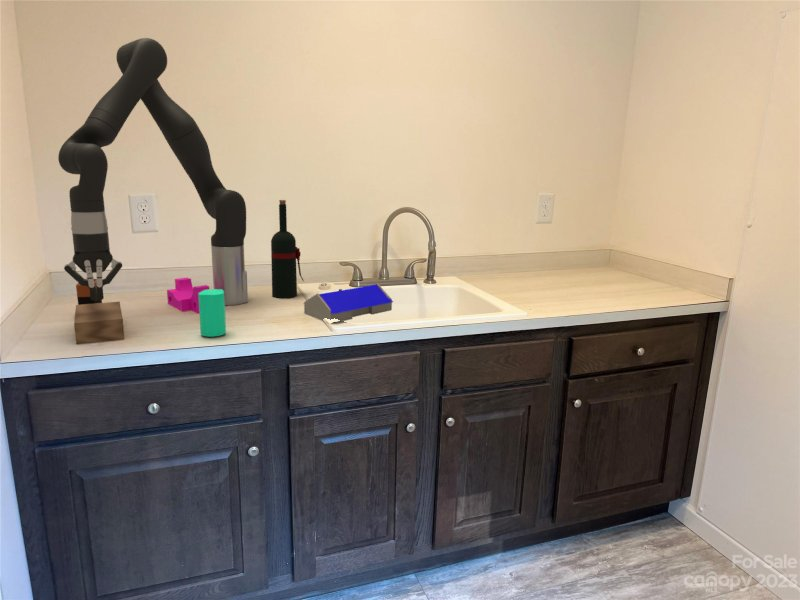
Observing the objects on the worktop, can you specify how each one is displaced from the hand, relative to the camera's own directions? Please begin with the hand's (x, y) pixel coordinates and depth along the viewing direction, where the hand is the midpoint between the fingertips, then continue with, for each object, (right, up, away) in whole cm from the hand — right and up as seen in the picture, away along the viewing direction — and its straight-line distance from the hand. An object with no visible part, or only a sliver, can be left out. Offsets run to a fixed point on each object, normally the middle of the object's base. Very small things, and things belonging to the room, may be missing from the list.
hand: (97, 301), depth 141 cm
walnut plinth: (0, -7, +2) cm, 8 cm away
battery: (-10, -4, +16) cm, 20 cm away
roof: (+59, -4, +26) cm, 64 cm away
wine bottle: (+38, +1, +42) cm, 57 cm away
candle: (+27, -8, +3) cm, 29 cm away
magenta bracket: (+13, -2, +26) cm, 29 cm away
